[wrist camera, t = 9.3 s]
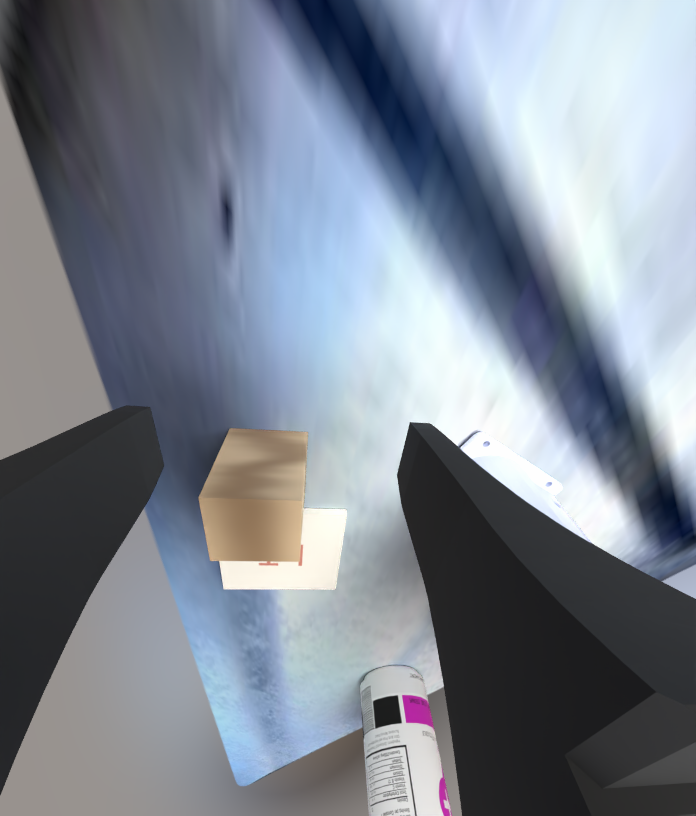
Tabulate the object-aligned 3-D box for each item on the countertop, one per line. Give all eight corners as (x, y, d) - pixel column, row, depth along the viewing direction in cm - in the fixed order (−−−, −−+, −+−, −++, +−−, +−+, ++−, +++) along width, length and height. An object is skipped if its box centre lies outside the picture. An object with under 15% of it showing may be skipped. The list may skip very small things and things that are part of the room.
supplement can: (427, 661, 40) (474, 871, 27) (416, 688, 44) (452, 881, 31) (362, 664, 39) (380, 880, 27) (357, 691, 44) (370, 889, 31)
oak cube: (308, 431, 21) (302, 500, 16) (305, 486, 24) (299, 562, 19) (230, 427, 21) (198, 497, 16) (235, 484, 23) (210, 560, 18)
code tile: (346, 509, 25) (346, 515, 25) (335, 583, 30) (335, 589, 30) (213, 505, 24) (211, 511, 24) (225, 582, 29) (223, 589, 29)
